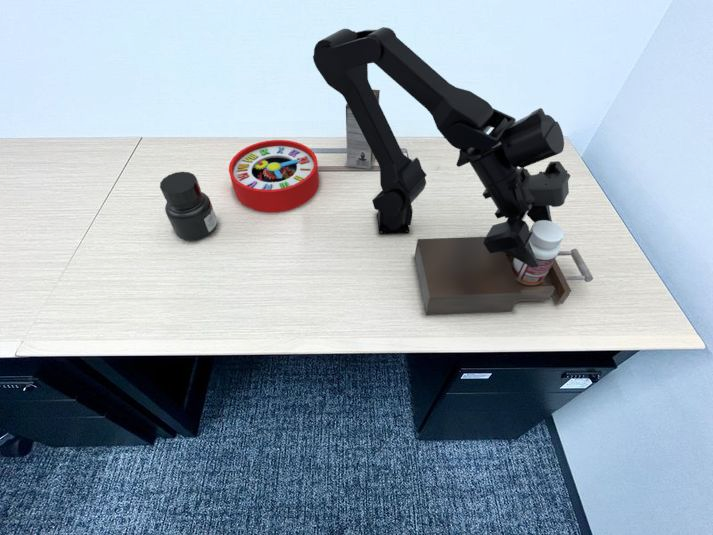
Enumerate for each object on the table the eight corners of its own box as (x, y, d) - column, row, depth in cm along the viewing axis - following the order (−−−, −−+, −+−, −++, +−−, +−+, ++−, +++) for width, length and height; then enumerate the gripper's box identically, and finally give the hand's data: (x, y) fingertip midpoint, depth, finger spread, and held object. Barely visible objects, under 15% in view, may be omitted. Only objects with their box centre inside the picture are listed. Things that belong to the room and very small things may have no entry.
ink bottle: (224, 234, 84) (208, 188, 75) (182, 249, 81) (160, 204, 72) (210, 207, 89) (193, 162, 80) (170, 221, 86) (148, 176, 77)
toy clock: (219, 152, 93) (299, 132, 99) (225, 173, 98) (301, 152, 104) (242, 202, 82) (331, 176, 88) (248, 223, 86) (332, 197, 92)
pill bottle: (550, 276, 74) (575, 232, 66) (529, 292, 72) (553, 249, 63) (522, 256, 77) (543, 212, 69) (502, 271, 75) (521, 228, 66)
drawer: (564, 252, 80) (572, 238, 77) (591, 302, 72) (601, 289, 68) (467, 255, 79) (471, 241, 76) (483, 307, 71) (489, 293, 68)
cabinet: (490, 255, 80) (498, 236, 76) (511, 311, 71) (521, 292, 67) (414, 258, 80) (417, 238, 75) (425, 315, 71) (429, 296, 66)
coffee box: (353, 146, 105) (353, 86, 93) (377, 149, 105) (380, 89, 92) (346, 166, 100) (345, 105, 87) (371, 170, 99) (373, 108, 87)
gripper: (528, 190, 53) (579, 278, 57) (564, 128, 63) (605, 206, 67) (461, 213, 61) (509, 287, 66) (502, 155, 72) (541, 223, 76)
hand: (543, 249), depth 69 cm, fingers open, 9 cm apart
